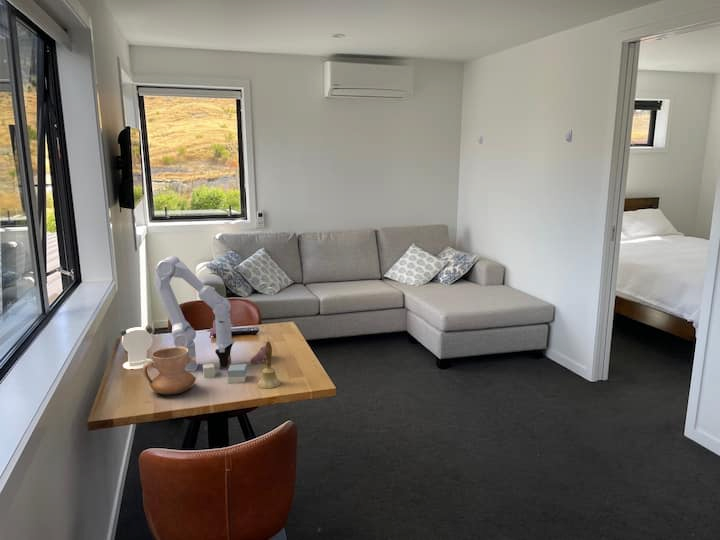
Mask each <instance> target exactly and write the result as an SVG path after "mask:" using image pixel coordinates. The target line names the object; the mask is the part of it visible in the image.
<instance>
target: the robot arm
mask: <svg viewBox="0 0 720 540" xmlns="http://www.w3.org/2000/svg"><path fill="white" fill-rule="evenodd" d="M154 271H155V273H154V278H153V284H154V285H153V286H154V288H155V289H156V291H157V294H158V297H159V300H160V301H161V303H162V306H163V308H164V310H165V312H166V315H167V317H168V320H169V322H170V325H171V326H172V327H171V334H172V337H173V339H172V340H173V341H172V343H173V345H174V347H184V348H187V349H188V352H189V354H188V358H192V357H193V358H196V359H197V355H196V343H195V341H194V340H195V338H196V337H197V335H196V331H195V329H194V327H192V326H191V325H190V323H189V322H188V321H187V320H186V318H185V316H184V314H183V312H182V308H181V307H180V304H179V302H178V300H177V298H176V295H175V293H174V290H173V288H172V286H171V284H170V283H171V280H172V279H173V278H179V279H182V280H184V281H185V282H186V283H187V284H189V285H190V286H191V287H192V288H194V290H196V292H198V293H197V294H198V297H199V298H200V299H201V300H202V301H203V302H204V303H205V304H206V305H207V306H208V307H209V308H211V309H212V312H213V314H214V316H215V317H214V320H215V324H216V335H215V340H216V341H215V344H216V346H217V347H218V348H217V349H216V348H215V355H216V356H217V358H218V361H219V360H220V364H221V367H227V365H228V357H229V356H231V351H232V347H233V345H234V344H235V342H236V340H235V339H232V327H231V324H232V322H231V312H230V311H231V308H232V304H231V302H230V300H229V299H228V298H225V297H224V296H223V295H220V293H218V292H217V290H216V288H215V287H214V286H211V285H207V284H206V285H205V284H204V283H203V282H202V281H201V280H200V279H199V278H198V277H197V276H196V275H195V273H193V272H192V271H191V269H189V267H187V265H186V264H185V262H183V261H182V260H180V258H179V257H178V256H175V255H170V256H169V255H168V256H167V257H166V258H164V259H161V260H160V261H159V262H158V263H157V264H156V265H155V268H154ZM199 364H200V363H199V362H197V360H196V361H195V362H193V361H192V362H189V363H188V364H186V366H185V369H184V370H186V371H188V372H195V371H196V370H197V368H198V366H199Z"/></svg>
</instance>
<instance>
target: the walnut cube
mask: <svg viewBox="0 0 720 540" xmlns="http://www.w3.org/2000/svg"><path fill="white" fill-rule="evenodd" d="M218 362H219V363H218V364H219V370H228V369H229V366H230V365H232V355H230V356H229V357H228V365H227V367H221V364H220V360H219V359H218Z"/></svg>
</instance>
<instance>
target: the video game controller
mask: <svg viewBox="0 0 720 540" xmlns="http://www.w3.org/2000/svg"><path fill="white" fill-rule="evenodd" d="M265 346H266V345H264V346H260V349H259V351H257V353H256V354H255V355H254V356H253V357H252V358H251V359H250V363H251V364H252V363H253V365H255V364H257V363H259V362H260V363H262V362H263V360H266V356H265ZM261 361H262V362H261Z"/></svg>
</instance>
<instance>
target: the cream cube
mask: <svg viewBox="0 0 720 540" xmlns="http://www.w3.org/2000/svg"><path fill="white" fill-rule="evenodd" d="M215 369H216V367H215V364H214V363H207V364H202V372H203V373H202V374H203V379H209V378H208V377H211V378H216V370H215Z"/></svg>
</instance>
